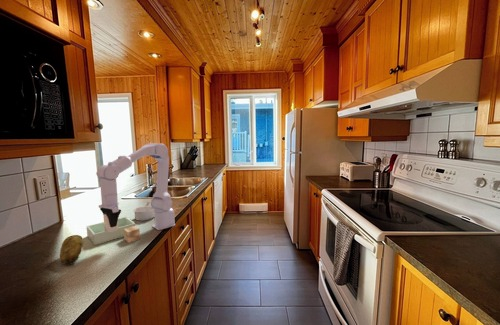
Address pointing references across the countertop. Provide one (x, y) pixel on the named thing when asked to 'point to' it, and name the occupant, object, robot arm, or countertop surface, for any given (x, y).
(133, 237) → the maple cube
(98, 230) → the tote
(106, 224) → the pale pink egg
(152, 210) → the saucepan
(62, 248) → the potato
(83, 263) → the countertop surface
